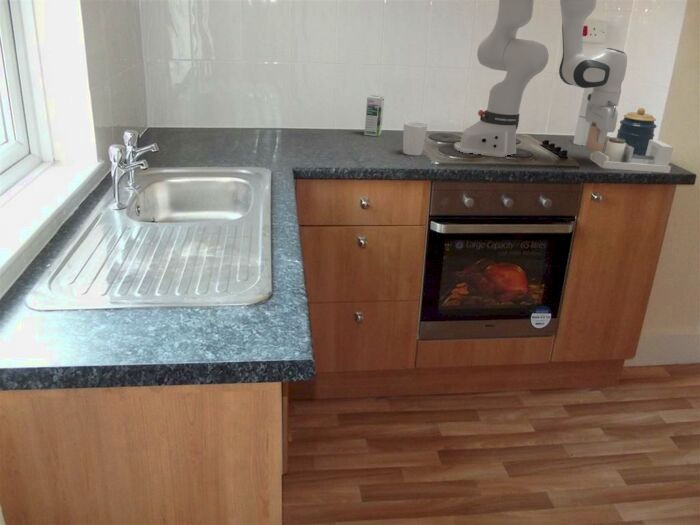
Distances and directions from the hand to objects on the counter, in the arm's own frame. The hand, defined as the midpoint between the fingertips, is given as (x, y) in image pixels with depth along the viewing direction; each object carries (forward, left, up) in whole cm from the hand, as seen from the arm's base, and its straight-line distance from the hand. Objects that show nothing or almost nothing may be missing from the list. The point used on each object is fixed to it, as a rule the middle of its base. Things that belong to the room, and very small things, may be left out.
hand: (595, 140), depth 220 cm
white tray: (+14, 0, -9) cm, 16 cm away
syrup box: (-76, +24, -9) cm, 80 cm away
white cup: (-63, -2, -9) cm, 63 cm away
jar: (0, 0, -3) cm, 3 cm away
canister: (+23, +22, -9) cm, 33 cm away
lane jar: (+7, 0, -8) cm, 11 cm away
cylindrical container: (+9, +36, -9) cm, 38 cm away
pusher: (+16, 0, -8) cm, 18 cm away
